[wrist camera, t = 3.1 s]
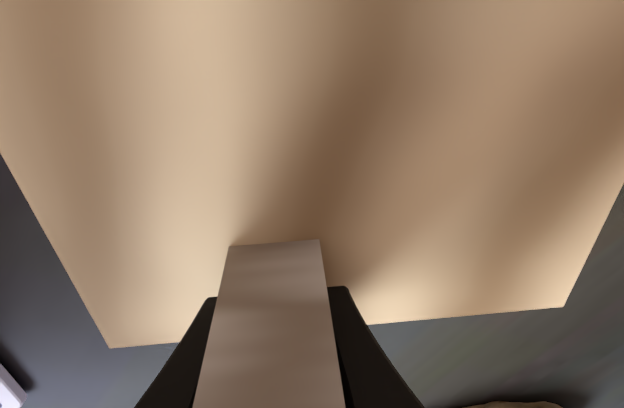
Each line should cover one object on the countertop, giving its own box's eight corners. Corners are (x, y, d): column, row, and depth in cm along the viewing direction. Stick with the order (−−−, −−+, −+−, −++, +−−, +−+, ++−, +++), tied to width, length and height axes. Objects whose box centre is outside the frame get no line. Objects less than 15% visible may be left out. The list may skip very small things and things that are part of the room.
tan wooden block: (245, 322, 11) (221, 518, 7) (228, 246, 10) (184, 441, 5) (322, 315, 11) (346, 504, 7) (318, 239, 10) (348, 425, 5)
